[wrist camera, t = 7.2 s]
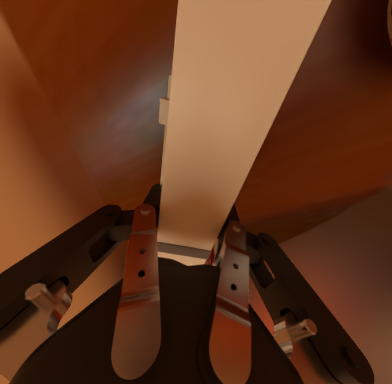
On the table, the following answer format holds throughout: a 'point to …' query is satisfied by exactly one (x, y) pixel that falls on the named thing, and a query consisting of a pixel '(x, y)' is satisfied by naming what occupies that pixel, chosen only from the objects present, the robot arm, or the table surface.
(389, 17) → the chinaware
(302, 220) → the table surface
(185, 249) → the beige bar
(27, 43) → the table surface
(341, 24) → the table surface
